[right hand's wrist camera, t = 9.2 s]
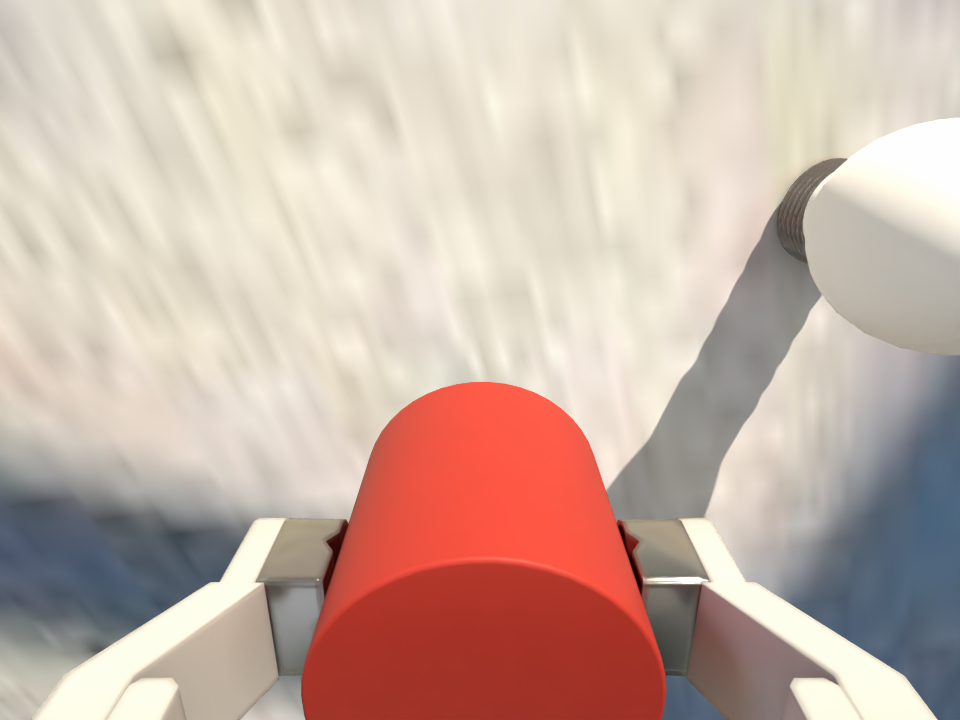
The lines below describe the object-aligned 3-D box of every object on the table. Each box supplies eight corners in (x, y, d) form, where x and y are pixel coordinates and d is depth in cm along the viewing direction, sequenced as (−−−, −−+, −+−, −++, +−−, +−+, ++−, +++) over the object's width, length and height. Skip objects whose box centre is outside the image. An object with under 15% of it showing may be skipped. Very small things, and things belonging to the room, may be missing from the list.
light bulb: (836, 315, 26) (1061, 443, 16) (705, 243, 25) (858, 331, 15) (948, 168, 24) (1290, 209, 14) (810, 82, 23) (1072, 57, 13)
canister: (423, 341, 11) (383, 500, 7) (640, 438, 12) (740, 641, 7) (333, 529, 13) (250, 766, 8) (531, 605, 14) (558, 860, 9)
